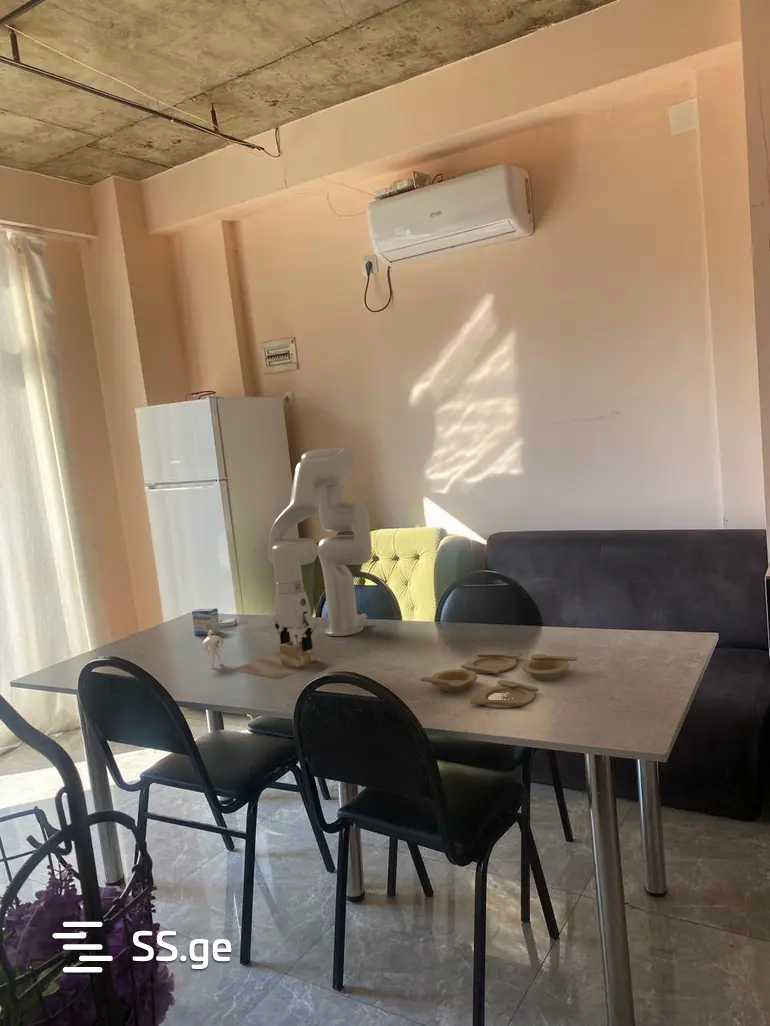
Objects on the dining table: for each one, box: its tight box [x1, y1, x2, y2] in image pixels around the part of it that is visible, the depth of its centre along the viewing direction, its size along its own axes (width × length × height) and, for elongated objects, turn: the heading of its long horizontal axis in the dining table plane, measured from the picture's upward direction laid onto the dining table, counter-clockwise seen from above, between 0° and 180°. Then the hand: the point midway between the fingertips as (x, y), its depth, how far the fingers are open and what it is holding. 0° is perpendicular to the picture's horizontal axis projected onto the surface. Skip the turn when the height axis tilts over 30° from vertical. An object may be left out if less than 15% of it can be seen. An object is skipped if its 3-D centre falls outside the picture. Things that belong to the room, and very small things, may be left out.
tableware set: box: [420, 652, 578, 709], centre depth 184 cm, size 35×29×4 cm
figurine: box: [201, 630, 224, 669], centre depth 217 cm, size 7×4×12 cm, turn 138°
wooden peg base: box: [230, 633, 326, 680], centre depth 212 cm, size 18×20×10 cm
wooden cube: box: [279, 638, 316, 667], centre depth 212 cm, size 7×7×6 cm
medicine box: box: [191, 608, 221, 636], centre depth 264 cm, size 8×4×9 cm, turn 73°
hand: (296, 648), depth 212 cm, fingers open, 8 cm apart
